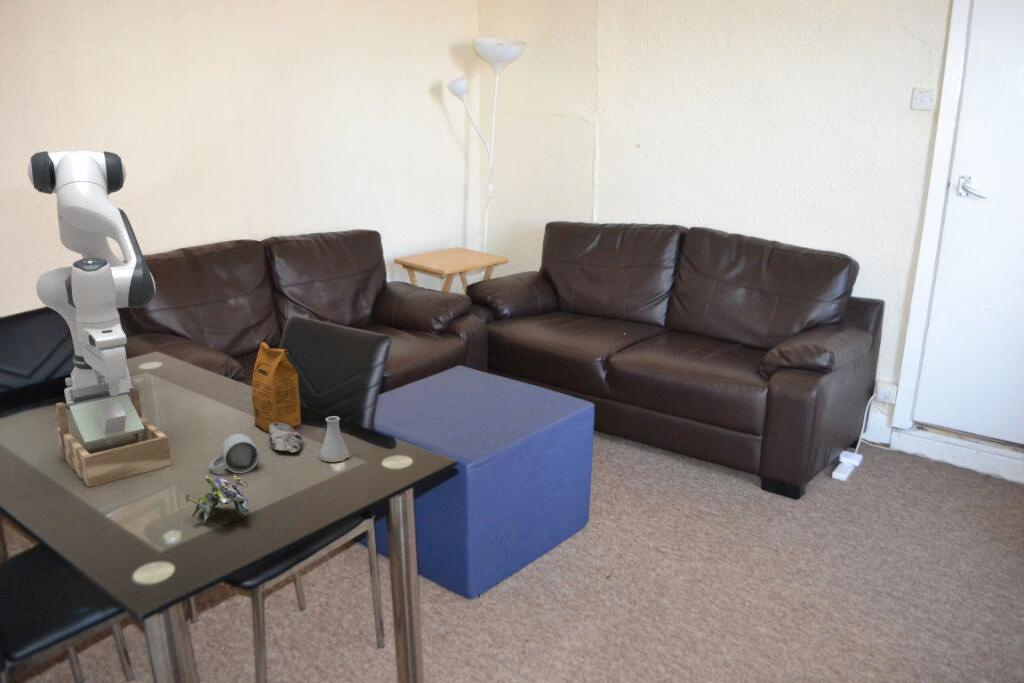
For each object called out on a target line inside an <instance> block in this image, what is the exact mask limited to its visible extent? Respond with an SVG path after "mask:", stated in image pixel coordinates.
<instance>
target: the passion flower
mask: <svg viewBox="0 0 1024 683" xmlns="http://www.w3.org/2000/svg"><path fill="white" fill-rule="evenodd" d="M232 476H233V479H234V482H236V483H235V484H234V483H232V482H230V481H228V479H227V478H223V477H222V478H221V476H216V477H215V478H212V477H209V476H208V475H206V476H205V481H206V482H207V483H208V484H209V485H210V486H211V488H210V492H206V493H205V494H204V497H203V496H200V497H199V498H198V502H196V501H195V500H193V499H191V498H189V497H190V495H191V494H185V495H184V496H185V502H187V503H188V502H189V501H190V502H191V503H194V504H196V505H195V506H196V507H195V509H194V511H193V512H192V514H191V518H192V519H193V518H194V516H196V514H197V513H198V512H199V511H200V510H201V509H203V515H204V516H203V522H202V526H203V525H205V523H206V521H207V520H208V518H210V517H211V516H212V515H213V510H214V509H215V508H216V507H217V506H218V504H220V506H223V505H230V504H231V503H234V506H235V507H234V508H235V511H236V512H237V513H238V515H240V516H241V517H246V514H247V513H248V512H249V509H248V508H246V506H247V505H248V504H249V499H247V498H246V497H245V496H244V494H243V491H242V490H241V489H240V488H237V487H238V486H239V485H240V486H242V487H245V488H247V487H248V484H247V482H246V481H245V480H243V478H241V477H240V475H237V473H233V475H232ZM205 506H208V508H207V507H205Z"/></svg>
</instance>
